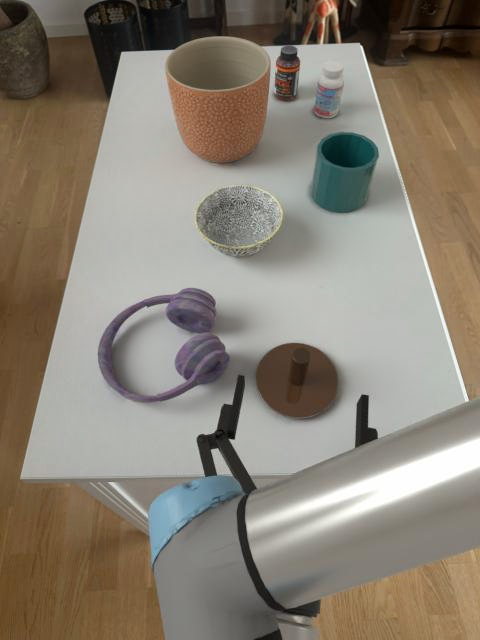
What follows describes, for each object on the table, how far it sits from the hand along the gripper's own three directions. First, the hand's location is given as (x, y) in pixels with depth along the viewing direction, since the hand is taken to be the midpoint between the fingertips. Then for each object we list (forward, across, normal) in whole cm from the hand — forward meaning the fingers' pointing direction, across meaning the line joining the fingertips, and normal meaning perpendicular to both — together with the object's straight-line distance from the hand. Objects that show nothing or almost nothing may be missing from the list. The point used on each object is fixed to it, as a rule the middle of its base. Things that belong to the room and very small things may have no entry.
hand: (301, 389), depth 50 cm
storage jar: (+54, +4, -18) cm, 57 cm away
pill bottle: (+83, -1, -18) cm, 85 cm away
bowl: (+37, -14, -18) cm, 44 cm away
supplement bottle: (+89, -12, -18) cm, 92 cm away
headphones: (+11, -22, -18) cm, 30 cm away
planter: (+66, -23, -18) cm, 72 cm away
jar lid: (+10, 0, -18) cm, 20 cm away
